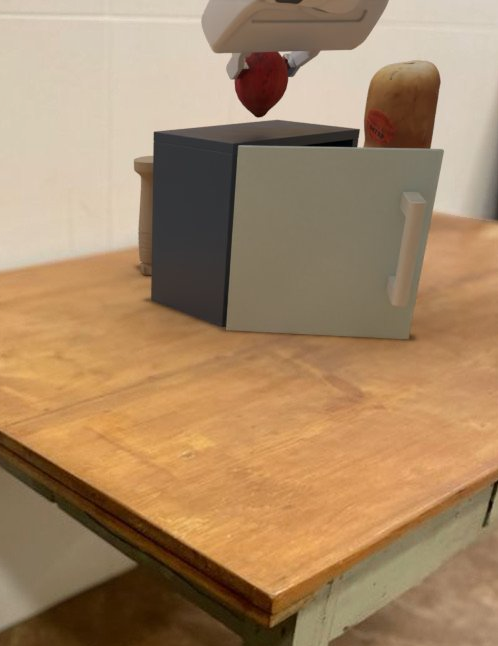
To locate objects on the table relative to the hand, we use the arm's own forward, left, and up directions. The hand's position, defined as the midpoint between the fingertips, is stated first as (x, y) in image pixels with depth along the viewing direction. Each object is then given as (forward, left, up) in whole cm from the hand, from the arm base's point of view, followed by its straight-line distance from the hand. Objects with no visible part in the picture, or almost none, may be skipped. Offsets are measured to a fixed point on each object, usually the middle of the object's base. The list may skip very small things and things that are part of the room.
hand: (258, 73), depth 90 cm
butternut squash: (-28, -47, -26) cm, 61 cm away
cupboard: (0, +1, -26) cm, 26 cm away
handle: (+12, -13, -26) cm, 31 cm away
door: (-7, +17, -25) cm, 31 cm away
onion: (0, 0, -5) cm, 5 cm away
